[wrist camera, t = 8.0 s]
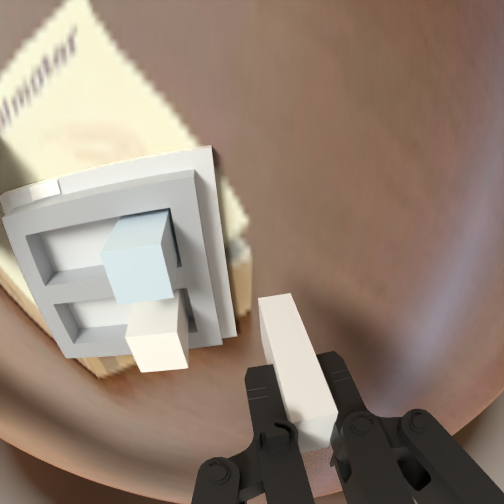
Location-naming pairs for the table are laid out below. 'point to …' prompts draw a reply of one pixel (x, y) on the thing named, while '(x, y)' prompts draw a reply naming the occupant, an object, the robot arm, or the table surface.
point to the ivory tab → (159, 333)
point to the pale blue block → (142, 257)
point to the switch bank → (96, 234)
